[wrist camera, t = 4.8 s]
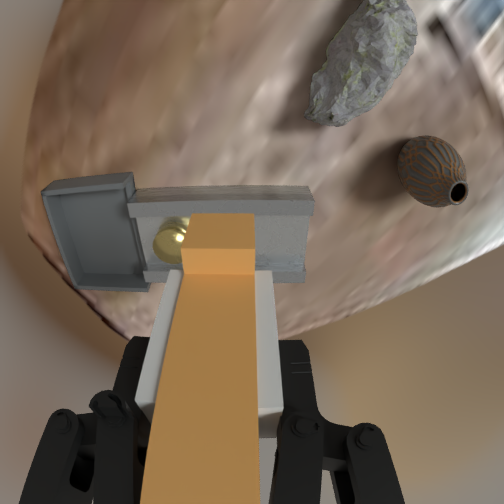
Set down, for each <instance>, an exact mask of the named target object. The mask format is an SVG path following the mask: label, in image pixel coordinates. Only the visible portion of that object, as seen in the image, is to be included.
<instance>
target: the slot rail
mask: <svg viewBox="0 0 504 504" xmlns="http://www.w3.org/2000/svg"><path fill="white" fill-rule="evenodd" d="M314 202H315V201H314V198H313V196H312V193H311V191H310V189H309V186H274V185H237V186H190V187H165V188H146V189H138V190H137V191H136V192H135V194H134V195H133V196H132V198H131V199H130V200H129V202H128V203H127V205H128V210H129V215H130V218H136V220H137V225H138V230H139V234H140V239H141V243H142V248H143V252H144V256H145V260H146V265H145V267H144V270H143V274H144V278H145V282H161V283H166V282H167V278H168V275H169V272H170V269H171V270H184V269H183V263H179V264H169V263H166V262H164V261H162V260H160V259H159V258H158V257H157V256H156V255H155V253H154V251H153V240H154V238H155V236H156V234H157V232H158V230H159V228H160V227H161V226H162V225H163V224H165V223H167V222H172V221H173V222H180V223H182V224H184V225H186V226H187V227H188V224H189V221H190V218H191V215H192V213H254V223H255V270H256V271H272V278H273V283H305V275H306V269H305V265H304V260H305V252H306V243H307V235H308V226H309V217H310V216H313V211H314Z"/></svg>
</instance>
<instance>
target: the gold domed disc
mask: <svg viewBox="0 0 504 504" xmlns="http://www.w3.org/2000/svg"><path fill="white" fill-rule="evenodd" d="M186 230H187V226H186V225H184V224H182V223H180V222H173V221H172V222H167V223H165V224H163V225H162V226H161V227H160V228H159V230H158V232H157V234H156V236H155V238H154V240H153V251H154V253H155V255H156V256H157V257H158V258H159V259H160V260H162V261H164V262H166V263H169V264H179V263H182V255H181V245H182V242H183V239H184V236H185V233H186Z"/></svg>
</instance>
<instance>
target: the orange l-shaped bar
mask: <svg viewBox="0 0 504 504" xmlns="http://www.w3.org/2000/svg"><path fill="white" fill-rule="evenodd" d="M181 255H182V263H183V269H184V276H183V280H182V284H181V288H180V292H179V296H178V300H177V304H176V309H175V313H174V317H173V321H172V326H171V330H170V335H169V339H168V344H167V348H166V353H165V358H164V362H163V367H162V372H161V377H160V382H159V387H158V392H157V397H156V403H155V408H154V414H153V419H152V425H151V431H150V437H149V443H148V449H147V456H146V462H145V469H144V476H143V484H142V491H141V499H140V504H260V474H259V430H258V388H257V347H256V307H255V223H254V213H192V215H191V218H190V221H189V224H188V227H187V230H186V233H185V236H184V239H183V242H182V245H181Z"/></svg>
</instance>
